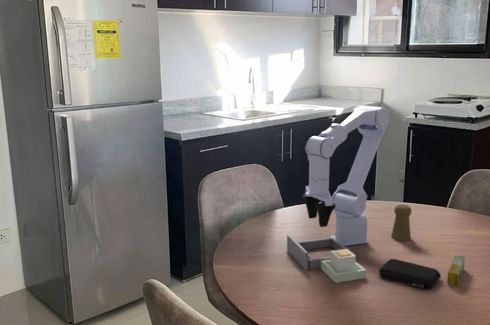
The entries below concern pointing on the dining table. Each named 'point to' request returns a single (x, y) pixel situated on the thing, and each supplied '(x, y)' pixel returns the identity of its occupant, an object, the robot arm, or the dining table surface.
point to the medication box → (456, 271)
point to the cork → (401, 223)
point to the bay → (343, 276)
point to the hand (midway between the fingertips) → (317, 222)
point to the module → (342, 260)
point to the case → (300, 248)
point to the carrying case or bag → (410, 273)
